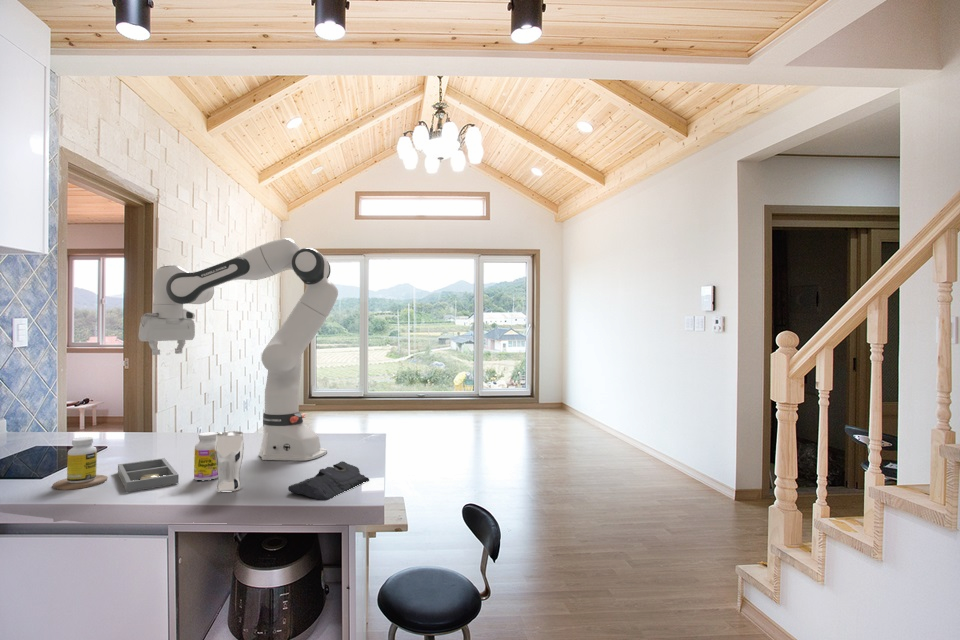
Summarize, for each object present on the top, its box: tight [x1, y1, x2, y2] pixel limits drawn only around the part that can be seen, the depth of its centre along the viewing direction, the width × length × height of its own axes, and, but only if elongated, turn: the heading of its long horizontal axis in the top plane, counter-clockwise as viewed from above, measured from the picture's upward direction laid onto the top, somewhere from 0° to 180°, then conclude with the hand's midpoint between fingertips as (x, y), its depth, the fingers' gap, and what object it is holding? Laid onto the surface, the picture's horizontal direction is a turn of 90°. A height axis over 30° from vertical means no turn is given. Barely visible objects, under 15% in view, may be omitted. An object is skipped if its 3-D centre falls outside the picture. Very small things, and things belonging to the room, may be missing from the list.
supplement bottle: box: [193, 431, 218, 481], centre depth 151 cm, size 7×7×13 cm
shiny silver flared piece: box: [215, 430, 245, 492], centre depth 141 cm, size 7×7×15 cm
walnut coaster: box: [52, 474, 108, 491], centre depth 145 cm, size 12×12×1 cm
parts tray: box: [117, 457, 180, 493], centre depth 151 cm, size 23×12×2 cm, turn 39°
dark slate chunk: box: [287, 460, 370, 501], centre depth 145 cm, size 15×22×5 cm
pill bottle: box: [66, 436, 98, 483], centre depth 146 cm, size 6×6×12 cm
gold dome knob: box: [140, 474, 159, 480], centre depth 146 cm, size 4×4×2 cm
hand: (167, 354), depth 177 cm, fingers open, 8 cm apart
